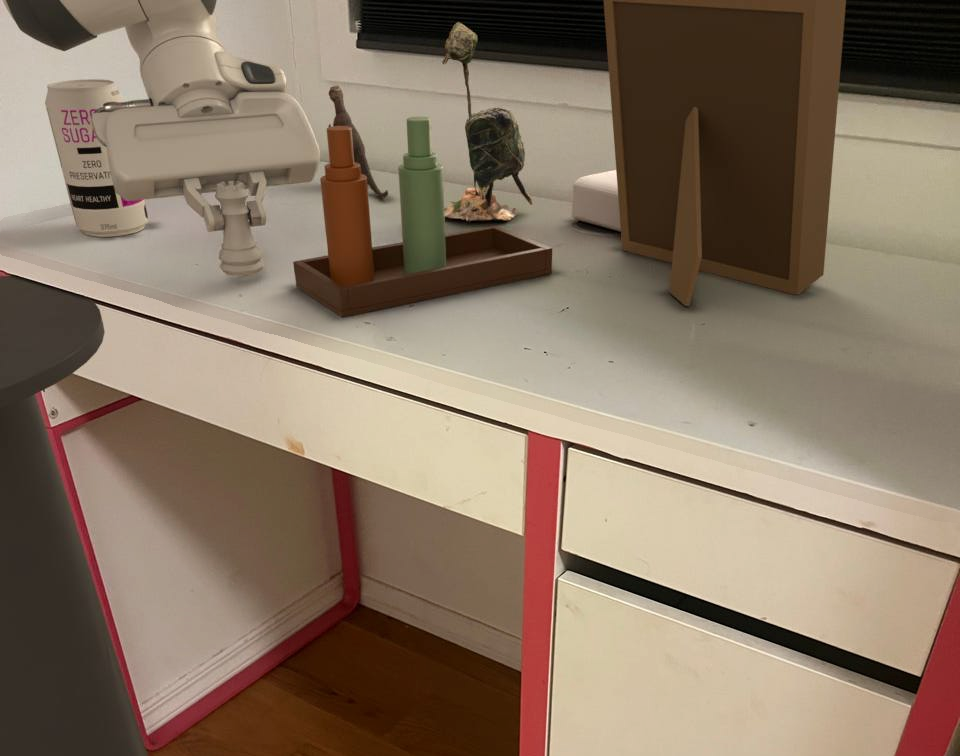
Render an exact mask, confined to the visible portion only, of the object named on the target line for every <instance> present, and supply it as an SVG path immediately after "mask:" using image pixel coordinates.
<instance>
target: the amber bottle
mask: <svg viewBox="0 0 960 756" xmlns="http://www.w3.org/2000/svg"><path fill="white" fill-rule="evenodd" d="M326 139H327V149H328V159H329V163H326V164H325V165H324V175H322V176H321V177H320V179H319V180H320V181H319V182H320V189H321V201H322V210H323V218H324V230H325V239H326V247H327V255H328V258H329V268H330V277H331V279H332V280H334V281H335V282H337V283H339V284H340V285H342V286H348V285H353V284H358V283H364V282H369V281H374V280H375V278H374V265H373V252H372V247H373V241H372V229H371V227H372V226H371V215H370V203H369V202H370V201H369V190H368V188H369V187H368V184H367V177H366V175H363V174H361V168H360V164H359V163H355V162H354V151H353V139H352V128H351V127H349V126H333V125H331V127H328V126H327V128H326Z"/></svg>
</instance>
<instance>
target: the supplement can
mask: <svg viewBox="0 0 960 756" xmlns="http://www.w3.org/2000/svg"><path fill="white" fill-rule="evenodd" d="M46 88H47V91H46V97H45V102H44V105H45V108H46V112H47V113H46V114H47V117H48V120H49V124H50V128H51V132H52V137H53V141H54V143H55V148H56V152H57V156H58V159H59V163H60V164H59V165H60V167H61V172H62V175H63V179H64V184H65V186H66V191H67V195H68V199H69V203H70V206H71V212H72V215H73V218H74V222H75V226H76V228H77V229H78V230H81V231H82V232H83V233H84V234H85V235H86V236H91V237H97V238H98V237H101V238H110V237H120V236H126V235H131V234H135V233H137V232H140V231H143V229H145V227H146V226H145V225H146V224H147V223H148V222H149V216H148V215H149V214H148V210H147V206H146V201H145V200H146V199H144V200H135V201H127V200H125V199H123V198H122V197H121V196H120V195H118V194H117V193H116V192H115V189H114V186H113V182H112V178H111V173H110V168H109V162H108V153H107V148H106V147H105V146H103V145H102V144H101V143H100V142H99V141H98V139H97V138H96V136H95V133H94V130H93V126H92V123H91V117H92V114H93V113H94V112H95V111H96V110H97V109H99V108H101V107H103V103H107V102H125V101H124V97H123V95H122V93H121V92H120V91H119V89H118V88H117V87H116V85H115V82H114V81H113V80H110V79H100V78H99V79H97V78H96V79H95V78H93V79H92V78H91V79H71V80H62V81H56V82H52V83H49V84H47V86H46Z"/></svg>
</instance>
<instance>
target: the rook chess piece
mask: <svg viewBox="0 0 960 756" xmlns="http://www.w3.org/2000/svg"><path fill="white" fill-rule="evenodd" d="M219 183H220V184H217V191H216V192H214V197H215V199H216V200H217V201H218V202H219V203H220V204H219V205H220V209H221V214H222V215H223V218H224V226H223V227H224V230H222V231H223V239H222V243H221V245H220V246H221V249H220V250H219V253H218V259H219V260H220V261H221V263H220V264H219V269H220V270H221V271H222V272H223V273H224V274H225V275H228V276H237V277H240V276H243V277H244V276H252V275H255V274H258V273H260V272H261V271H263V268H264V266H265V262H264V261H262V257H263V251H262V249H260V247H258V246H257V242H256V241H255V239H254V236H253V234H252V230H251V227H250V226H249V220H248V216H247V214H248V212H249V210H248V209H247V207H246V202H247V199H248V197H249V195H250V192H249V191H247V189H245V188H244V183H242V182H241V181H237V182H236V183H237V185H235V186H234V181H228V183H229V186H225V182H219Z"/></svg>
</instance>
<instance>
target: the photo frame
mask: <svg viewBox="0 0 960 756" xmlns="http://www.w3.org/2000/svg"><path fill="white" fill-rule="evenodd" d="M846 6H847V0H603V10H604V11H603V12H604V23H605V24H604V25H605V36H606V37H605V38H606V51H607V63H608V76H609V77H608V78H609V92H610V105H611V117H612V128H613V129H612V130H613V131H612V132H613V144H614V146H613V147H614V159H615V170H616V172H617V186H618V199H619V212H620V226H621V232H620V240H621V250H622V251H623V252H627V253H633V254H636V255H640V256H643V257H648V258H652V259H655V260H659V261H663V262H667V263H670V264H671V270H670V271H671V272H670V282H669V293H670V294H671V295H672V296H673V297H674V298H676V299H677V300H678V301H679V302H680V303H681V304H682V305H683V306H685V307H690V306H691V303H692V297H693V295H694V289H695V285H696V282H697V278H698V274H699V271H702V272H706V273H710V274H714V275H717V276H721V277H724V278H725V277H726V278H729V279H733V280H738V281H741V282H744V283H749V284H753V285H755V286H760V287H764V288H768V289H772V290H775V291H780V292H783V293H787V294H790V295H794V296H799V295H800V294H801V293H802V292H804V291H805V290H807V288H809V287H810V286H811V285H812V284H814V283H815V282H816V281H818V280H819V279H820V278H821V277H823V276H824V273H825V261H826V251H827V250H826V249H827V236H828V225H829V213H830V212H829V211H830V199H831V188H832V177H833V176H832V175H833V165H834V151H835V139H836V128H837V115H838V105H839V103H838V102H839V92H840V91H839V89H840V79H841V66H842V53H843V43H844V30H845V29H844V28H845V17H846Z"/></svg>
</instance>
